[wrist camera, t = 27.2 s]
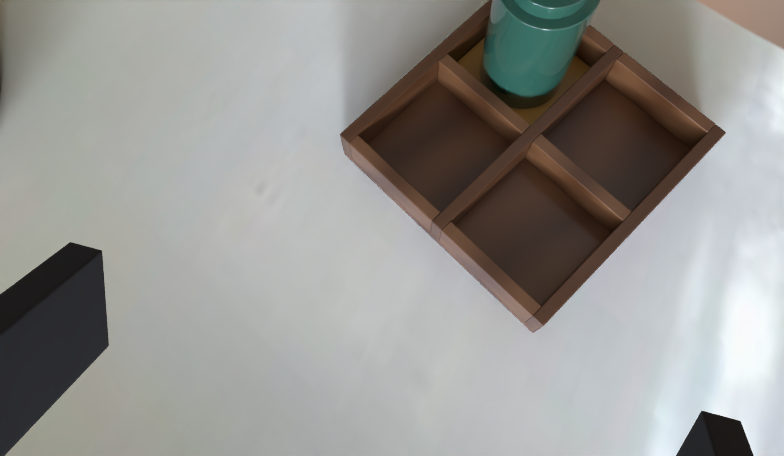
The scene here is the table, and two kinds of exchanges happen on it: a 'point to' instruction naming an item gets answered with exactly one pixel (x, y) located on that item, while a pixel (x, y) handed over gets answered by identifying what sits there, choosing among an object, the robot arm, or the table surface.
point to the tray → (529, 164)
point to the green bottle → (532, 47)
